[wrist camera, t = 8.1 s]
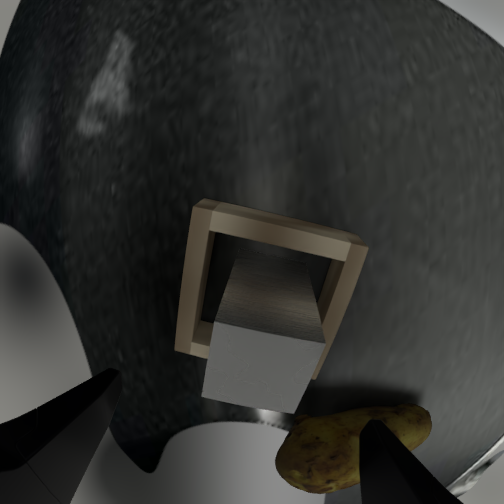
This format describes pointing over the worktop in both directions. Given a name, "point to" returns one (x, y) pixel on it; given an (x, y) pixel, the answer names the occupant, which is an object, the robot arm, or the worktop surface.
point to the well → (272, 232)
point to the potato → (342, 445)
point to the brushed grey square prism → (264, 334)
